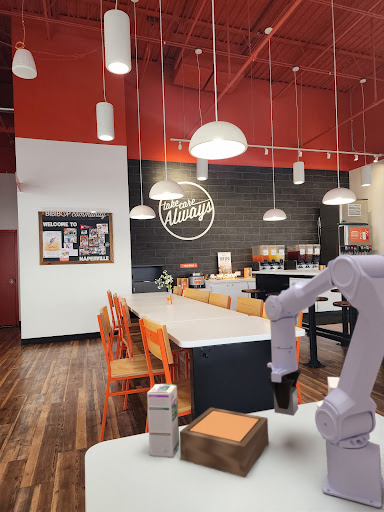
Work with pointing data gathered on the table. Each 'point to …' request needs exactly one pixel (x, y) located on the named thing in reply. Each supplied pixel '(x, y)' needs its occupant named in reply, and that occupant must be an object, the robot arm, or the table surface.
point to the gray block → (292, 403)
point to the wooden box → (224, 446)
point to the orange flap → (225, 426)
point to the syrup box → (163, 420)
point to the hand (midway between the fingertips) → (286, 404)
